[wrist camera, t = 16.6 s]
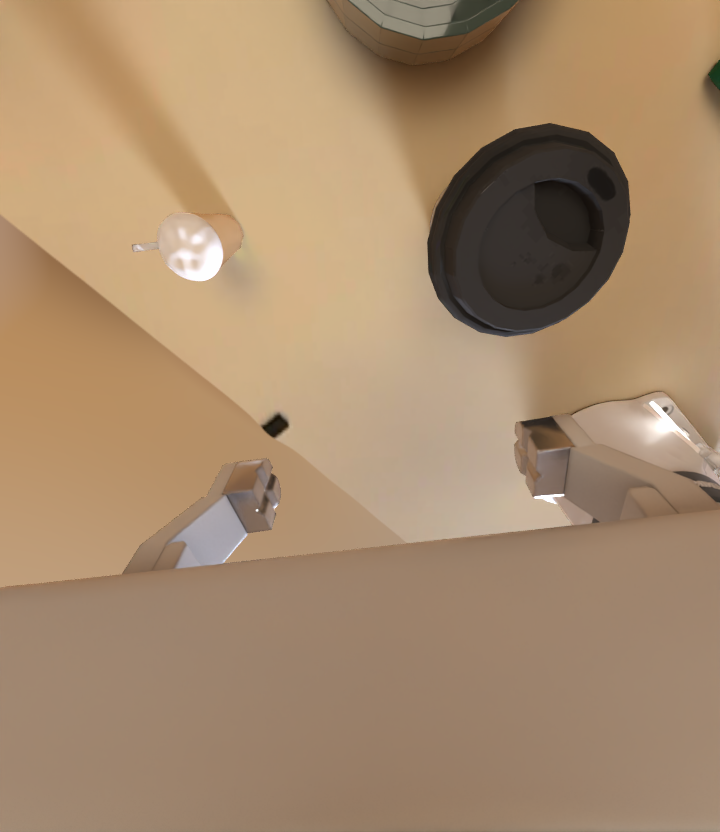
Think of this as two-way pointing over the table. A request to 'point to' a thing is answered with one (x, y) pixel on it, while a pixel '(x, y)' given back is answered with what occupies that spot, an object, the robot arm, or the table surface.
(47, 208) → the table surface
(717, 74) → the gaming controller
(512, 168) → the coffee cup
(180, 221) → the milkshake
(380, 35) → the dark green pet bowl
